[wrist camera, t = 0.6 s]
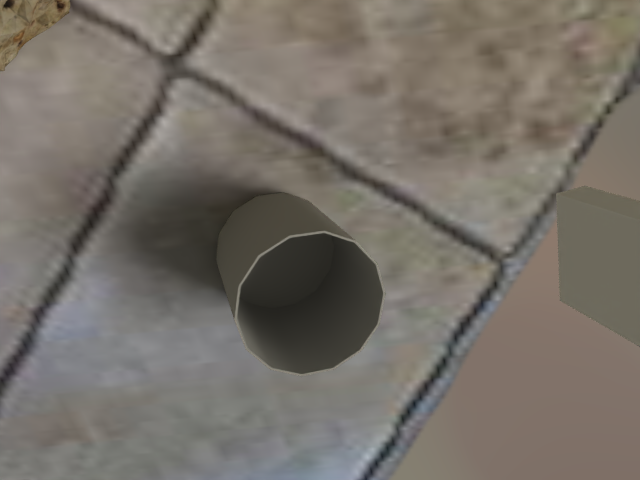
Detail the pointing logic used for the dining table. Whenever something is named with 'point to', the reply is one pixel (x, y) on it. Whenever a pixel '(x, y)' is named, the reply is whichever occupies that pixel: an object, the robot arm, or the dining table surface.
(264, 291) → the cup
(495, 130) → the dining table surface
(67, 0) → the rock
